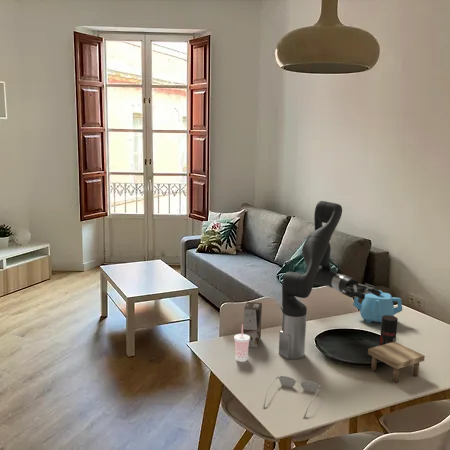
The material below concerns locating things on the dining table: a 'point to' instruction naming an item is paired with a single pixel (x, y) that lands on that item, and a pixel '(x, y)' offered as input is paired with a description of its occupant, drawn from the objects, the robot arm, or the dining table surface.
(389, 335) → the deodorant
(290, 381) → the eyeglasses
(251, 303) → the coffee box
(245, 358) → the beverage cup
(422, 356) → the stool
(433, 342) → the dining table surface
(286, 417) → the dining table surface
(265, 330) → the dining table surface
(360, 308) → the teapot
